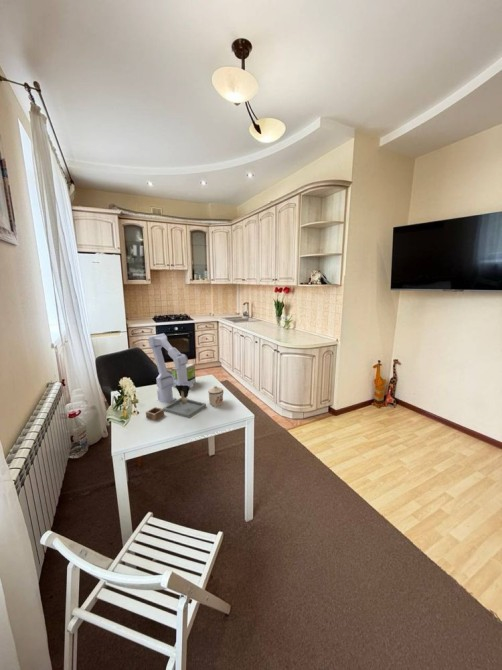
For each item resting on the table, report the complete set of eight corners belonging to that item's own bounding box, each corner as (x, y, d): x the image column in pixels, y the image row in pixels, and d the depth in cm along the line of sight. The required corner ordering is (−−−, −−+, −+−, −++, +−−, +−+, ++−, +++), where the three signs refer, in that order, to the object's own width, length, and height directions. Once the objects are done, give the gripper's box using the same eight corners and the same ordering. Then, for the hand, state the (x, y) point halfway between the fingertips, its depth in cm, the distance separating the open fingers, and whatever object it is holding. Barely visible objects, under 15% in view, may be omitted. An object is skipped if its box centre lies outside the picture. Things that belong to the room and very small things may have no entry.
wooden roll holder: (146, 418, 154) (145, 412, 154) (156, 413, 160) (155, 406, 160) (155, 421, 151) (154, 414, 150) (164, 415, 157) (163, 409, 156)
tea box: (182, 389, 193) (180, 370, 190) (172, 387, 198) (170, 368, 195) (196, 382, 206) (194, 363, 203) (186, 380, 211) (184, 362, 207)
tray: (163, 411, 162) (163, 408, 162) (181, 400, 176) (181, 397, 175) (188, 418, 153) (188, 415, 152) (206, 406, 166) (205, 403, 166)
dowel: (180, 403, 163) (179, 391, 161) (184, 401, 165) (183, 389, 164) (184, 404, 161) (183, 392, 160) (188, 402, 164) (186, 390, 162)
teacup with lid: (217, 407, 164) (216, 390, 162) (206, 404, 169) (204, 387, 167) (229, 400, 174) (228, 383, 172) (218, 397, 179) (217, 380, 176)
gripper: (168, 375, 160) (170, 396, 162) (186, 379, 153) (188, 401, 155) (176, 371, 166) (178, 392, 168) (194, 375, 159) (196, 396, 162)
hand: (183, 396), depth 162 cm, fingers closed on dowel, 3 cm apart
